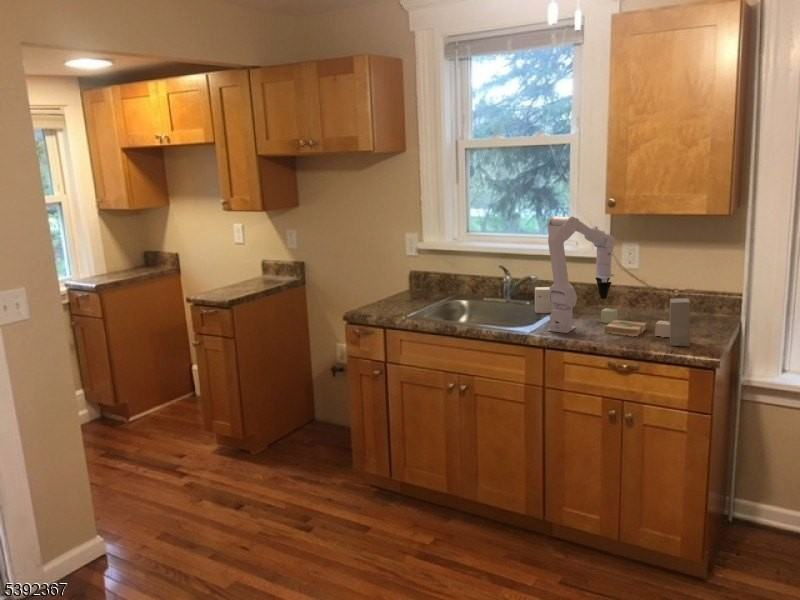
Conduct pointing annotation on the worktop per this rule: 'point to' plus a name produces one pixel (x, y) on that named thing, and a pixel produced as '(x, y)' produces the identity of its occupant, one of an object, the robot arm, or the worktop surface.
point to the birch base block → (625, 327)
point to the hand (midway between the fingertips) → (602, 296)
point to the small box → (542, 300)
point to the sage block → (608, 315)
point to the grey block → (662, 329)
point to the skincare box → (679, 322)
